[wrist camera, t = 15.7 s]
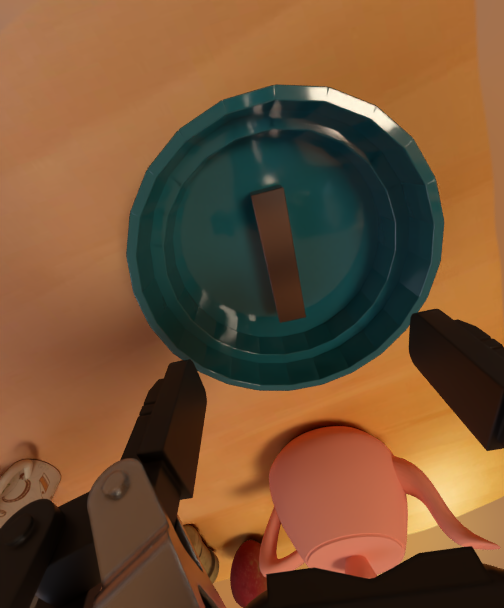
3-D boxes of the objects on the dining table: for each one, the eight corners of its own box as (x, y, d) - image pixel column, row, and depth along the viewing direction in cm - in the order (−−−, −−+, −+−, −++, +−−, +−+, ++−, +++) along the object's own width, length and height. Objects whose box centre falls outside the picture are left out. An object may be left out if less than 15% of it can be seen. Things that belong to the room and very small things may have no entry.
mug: (4, 485, 36) (-74, 589, 28) (-4, 424, 31) (-104, 529, 22) (69, 495, 38) (15, 596, 29) (72, 438, 32) (7, 542, 24)
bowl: (113, 151, 19) (60, 146, 13) (394, 71, 17) (462, 28, 12) (200, 362, 27) (190, 409, 22) (393, 322, 26) (431, 364, 20)
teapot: (400, 382, 29) (493, 512, 18) (431, 457, 36) (514, 587, 25) (228, 450, 34) (220, 585, 23) (282, 505, 40) (296, 633, 29)
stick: (249, 192, 20) (250, 195, 17) (279, 184, 19) (283, 186, 17) (276, 309, 24) (279, 323, 22) (300, 304, 24) (306, 317, 22)
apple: (221, 540, 45) (216, 612, 38) (259, 524, 43) (262, 596, 36) (249, 556, 48) (250, 625, 41) (287, 541, 45) (294, 611, 38)
